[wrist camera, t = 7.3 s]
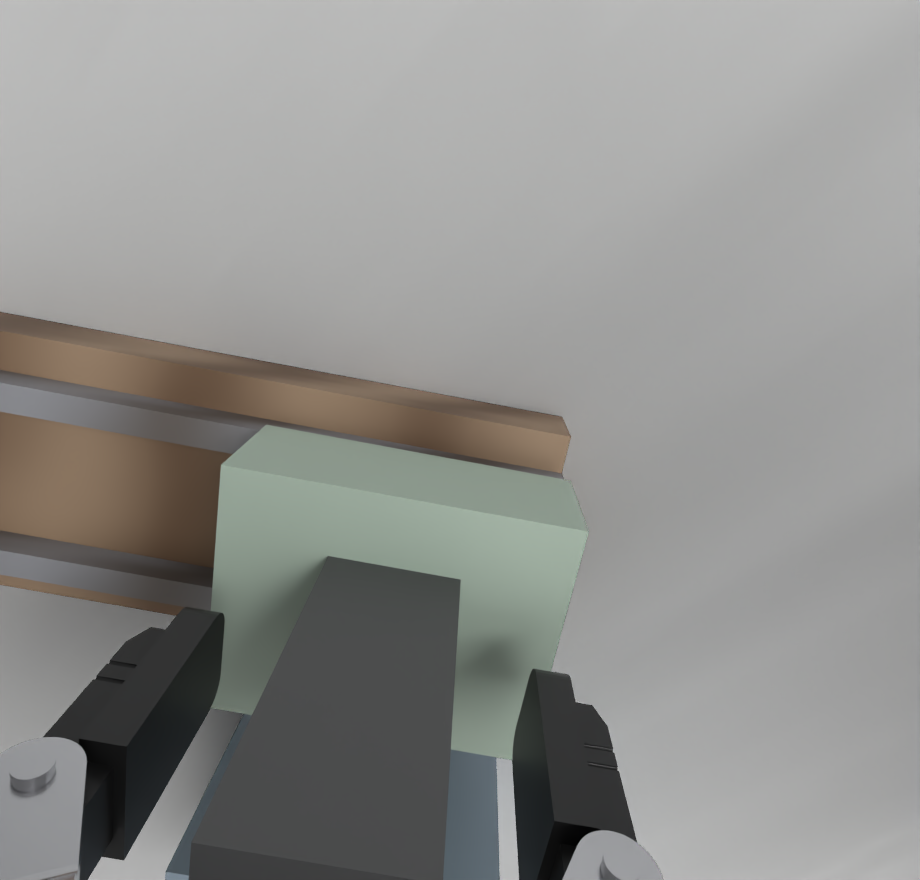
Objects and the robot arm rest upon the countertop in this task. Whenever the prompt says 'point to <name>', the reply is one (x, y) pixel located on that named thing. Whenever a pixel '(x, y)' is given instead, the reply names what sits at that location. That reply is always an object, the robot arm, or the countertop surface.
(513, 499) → the carriage
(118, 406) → the rail track
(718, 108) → the countertop surface
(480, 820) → the button box
